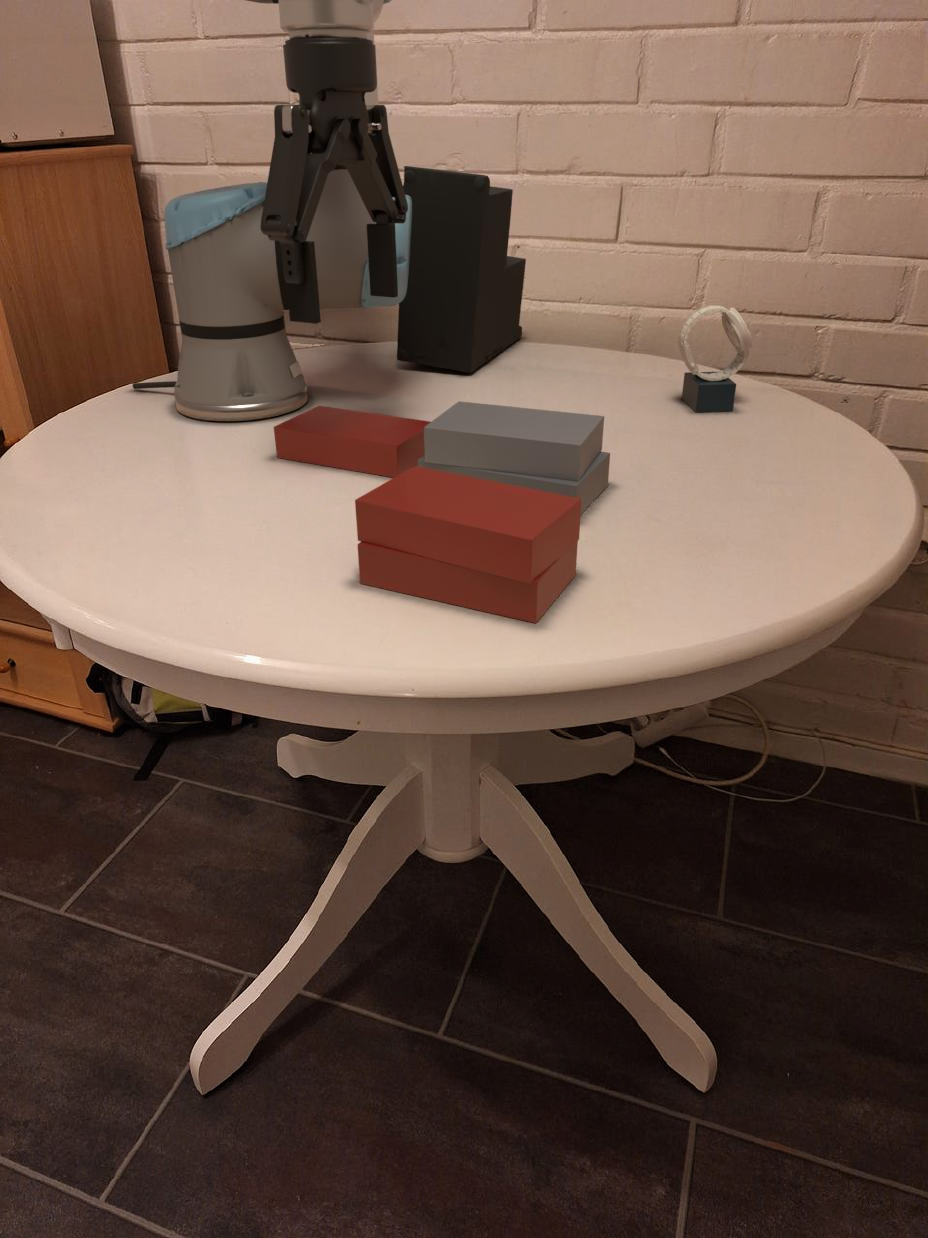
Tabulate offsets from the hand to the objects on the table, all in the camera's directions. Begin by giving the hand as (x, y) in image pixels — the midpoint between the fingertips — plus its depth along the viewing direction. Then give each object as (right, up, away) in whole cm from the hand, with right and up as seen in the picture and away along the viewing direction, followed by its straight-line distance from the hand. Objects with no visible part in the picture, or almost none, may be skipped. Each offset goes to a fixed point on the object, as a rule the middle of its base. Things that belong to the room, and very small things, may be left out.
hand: (347, 308), depth 84 cm
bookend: (+11, +9, +44) cm, 46 cm away
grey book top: (+15, -14, -3) cm, 21 cm away
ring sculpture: (+39, -4, +22) cm, 45 cm away
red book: (0, -12, +7) cm, 14 cm away
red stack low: (+11, -26, -17) cm, 33 cm away
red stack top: (+11, -23, -18) cm, 32 cm away
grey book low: (+15, -17, -1) cm, 23 cm away
